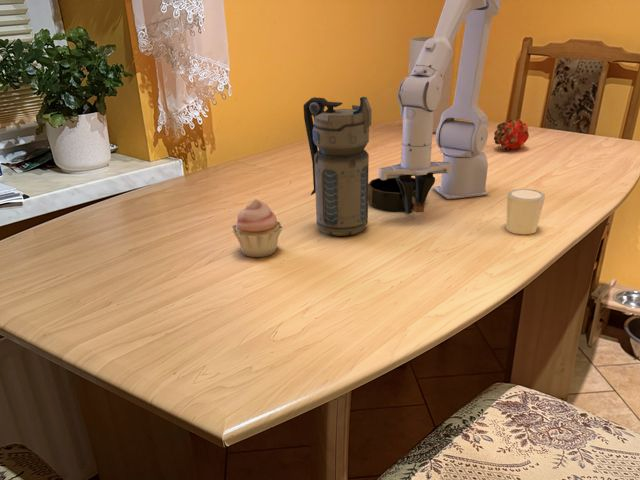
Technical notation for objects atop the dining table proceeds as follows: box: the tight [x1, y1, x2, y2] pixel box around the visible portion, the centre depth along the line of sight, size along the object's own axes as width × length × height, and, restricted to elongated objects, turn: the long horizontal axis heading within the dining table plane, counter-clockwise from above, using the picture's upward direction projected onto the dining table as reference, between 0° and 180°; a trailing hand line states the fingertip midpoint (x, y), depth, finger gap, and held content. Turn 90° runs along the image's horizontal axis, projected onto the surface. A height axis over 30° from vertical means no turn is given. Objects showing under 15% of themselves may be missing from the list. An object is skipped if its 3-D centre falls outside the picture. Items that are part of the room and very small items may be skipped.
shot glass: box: [505, 188, 546, 235], centre depth 122 cm, size 7×7×7 cm
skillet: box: [368, 176, 425, 213], centre depth 135 cm, size 20×12×4 cm, turn 13°
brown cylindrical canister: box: [303, 96, 372, 237], centre depth 120 cm, size 10×13×25 cm
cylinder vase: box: [407, 35, 455, 134], centre depth 189 cm, size 12×12×25 cm
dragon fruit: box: [493, 118, 530, 152], centre depth 172 cm, size 8×8×12 cm
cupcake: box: [231, 199, 284, 258], centre depth 115 cm, size 9×9×10 cm
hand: (413, 211), depth 130 cm, fingers closed on skillet, 2 cm apart
